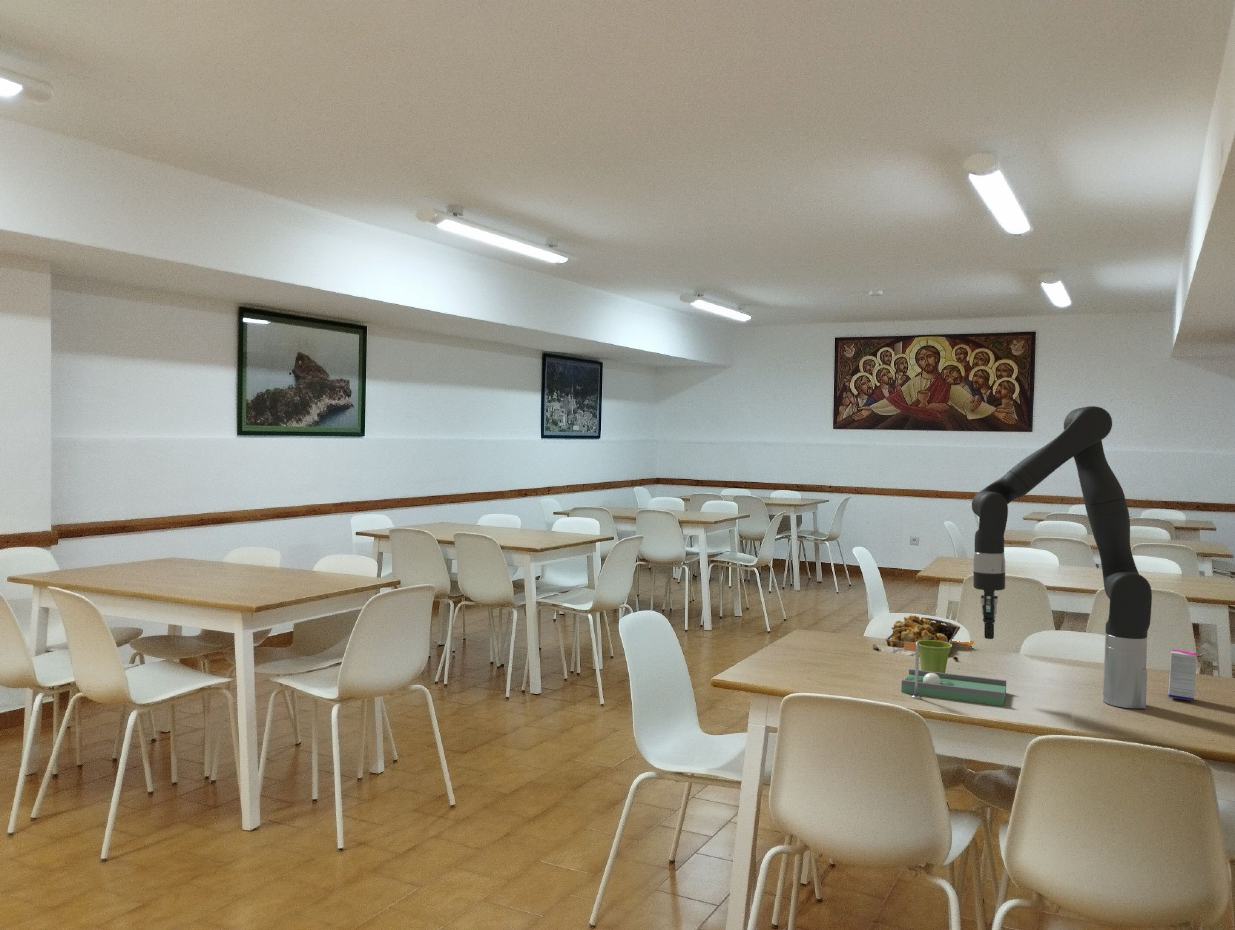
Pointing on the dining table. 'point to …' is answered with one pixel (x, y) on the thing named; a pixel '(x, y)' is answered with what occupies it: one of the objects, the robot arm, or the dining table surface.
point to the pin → (915, 647)
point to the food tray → (920, 634)
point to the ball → (932, 678)
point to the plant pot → (934, 655)
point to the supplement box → (1182, 674)
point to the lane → (958, 687)
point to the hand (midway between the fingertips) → (989, 638)
